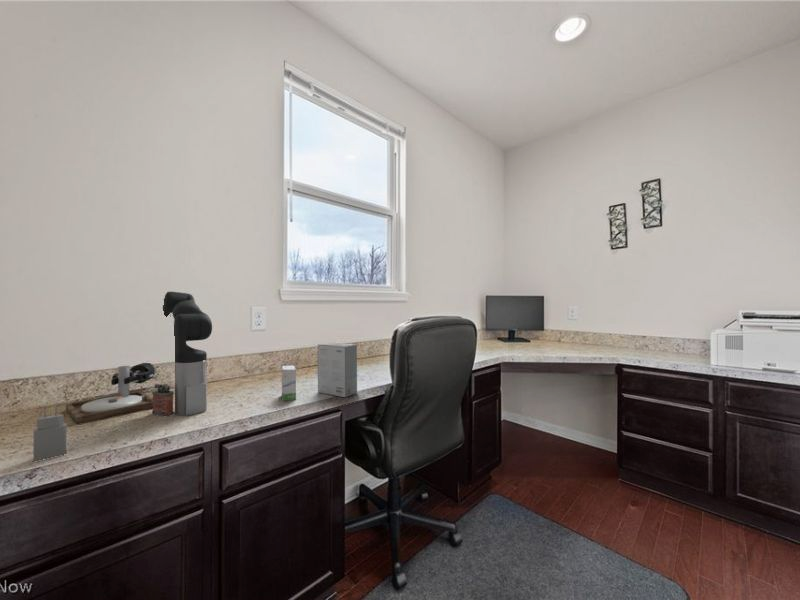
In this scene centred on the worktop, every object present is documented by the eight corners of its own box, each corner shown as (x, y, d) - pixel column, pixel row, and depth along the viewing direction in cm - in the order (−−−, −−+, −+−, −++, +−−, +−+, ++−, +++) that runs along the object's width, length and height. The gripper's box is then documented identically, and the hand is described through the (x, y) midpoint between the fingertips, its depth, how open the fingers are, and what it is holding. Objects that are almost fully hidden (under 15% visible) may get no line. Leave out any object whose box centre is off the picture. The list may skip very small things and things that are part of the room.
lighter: (176, 413, 110) (176, 383, 110) (166, 417, 107) (166, 386, 107) (159, 411, 113) (159, 382, 113) (149, 414, 109) (149, 384, 110)
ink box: (296, 399, 126) (296, 368, 126) (282, 401, 124) (282, 369, 124) (294, 393, 134) (294, 364, 134) (281, 395, 132) (281, 365, 132)
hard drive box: (357, 393, 134) (357, 344, 134) (345, 398, 128) (345, 346, 128) (330, 388, 143) (330, 342, 143) (316, 392, 136) (316, 344, 136)
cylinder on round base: (153, 398, 124) (153, 365, 124) (120, 412, 108) (120, 374, 108) (107, 399, 123) (107, 365, 123) (67, 414, 106) (67, 375, 106)
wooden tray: (158, 407, 117) (158, 401, 117) (76, 424, 100) (76, 417, 100) (141, 396, 130) (141, 391, 130) (65, 410, 113) (65, 404, 113)
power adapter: (34, 458, 79) (34, 408, 79) (66, 450, 83) (66, 403, 83) (33, 462, 77) (33, 411, 77) (66, 454, 81) (66, 405, 81)
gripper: (125, 363, 134) (96, 372, 118) (164, 361, 138) (141, 370, 121) (125, 381, 134) (96, 393, 118) (164, 379, 138) (141, 390, 121)
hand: (119, 381), depth 119 cm, fingers closed on cylinder on round base, 3 cm apart
